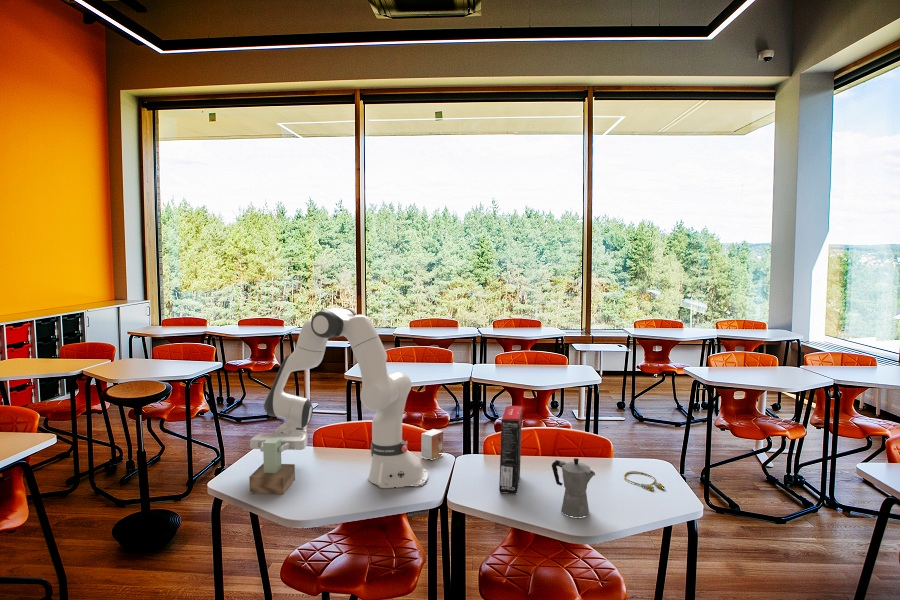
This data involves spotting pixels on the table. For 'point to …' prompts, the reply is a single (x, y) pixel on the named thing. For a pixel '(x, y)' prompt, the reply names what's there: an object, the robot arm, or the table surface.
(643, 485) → the extension cord
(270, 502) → the table surface
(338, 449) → the table surface
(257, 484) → the walnut block
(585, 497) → the coffeepot
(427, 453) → the small box
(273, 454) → the sage block
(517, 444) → the graphics card box
